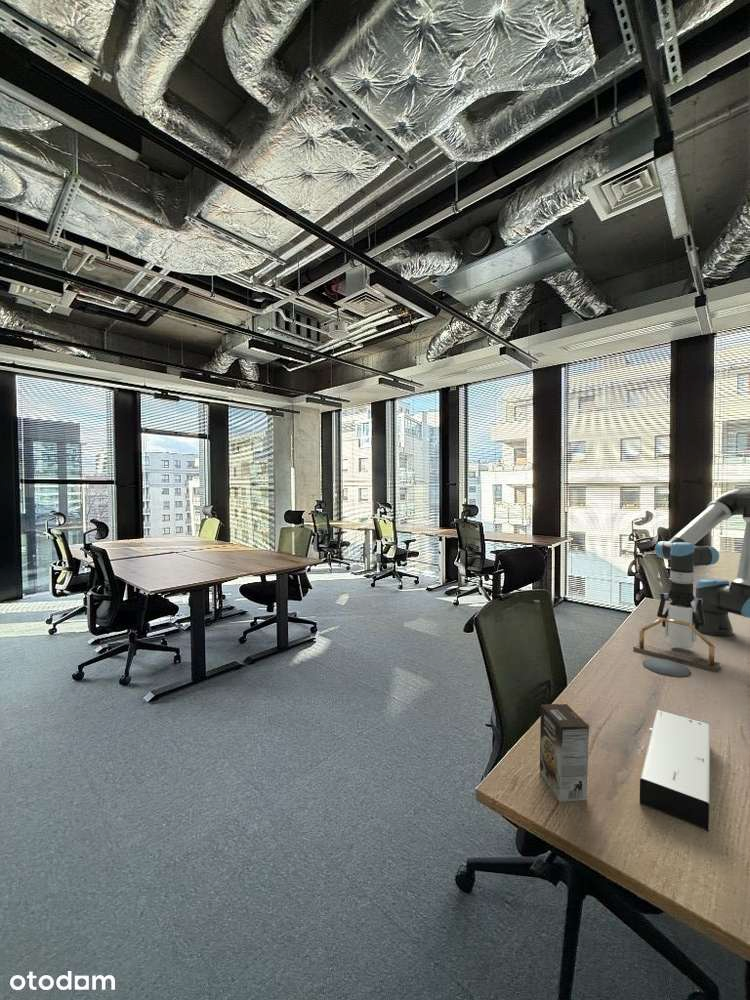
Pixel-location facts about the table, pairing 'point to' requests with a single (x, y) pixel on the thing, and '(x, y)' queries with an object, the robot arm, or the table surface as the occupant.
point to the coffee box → (564, 752)
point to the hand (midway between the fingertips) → (680, 638)
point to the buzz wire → (678, 656)
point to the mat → (666, 667)
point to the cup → (680, 626)
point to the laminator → (678, 769)
